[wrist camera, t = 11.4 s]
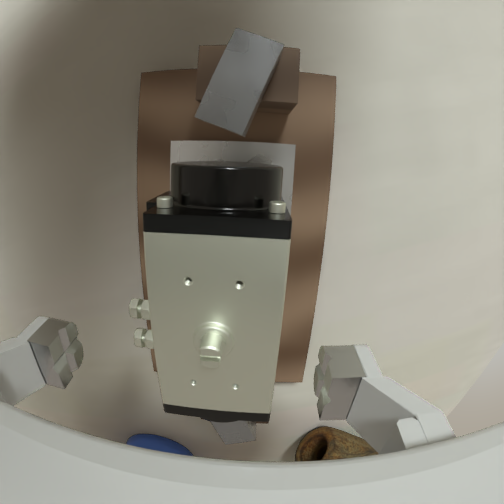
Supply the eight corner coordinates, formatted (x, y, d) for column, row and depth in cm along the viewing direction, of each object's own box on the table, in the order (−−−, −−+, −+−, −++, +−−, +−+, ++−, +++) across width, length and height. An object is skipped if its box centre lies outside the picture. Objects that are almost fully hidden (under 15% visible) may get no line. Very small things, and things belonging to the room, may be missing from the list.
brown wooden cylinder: (283, 442, 30) (286, 489, 24) (326, 410, 29) (336, 460, 22) (365, 468, 33) (375, 506, 27) (404, 441, 31) (419, 479, 25)
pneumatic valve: (277, 160, 19) (301, 175, 8) (264, 323, 23) (266, 458, 12) (190, 156, 19) (100, 171, 8) (191, 317, 23) (145, 444, 12)
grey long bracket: (176, 68, 17) (137, 35, 11) (298, 70, 17) (317, 33, 11) (181, 375, 25) (162, 436, 19) (273, 382, 25) (275, 446, 18)
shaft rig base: (148, 76, 19) (110, 55, 13) (331, 81, 19) (357, 57, 13) (158, 361, 27) (138, 409, 21) (300, 371, 27) (308, 423, 21)
